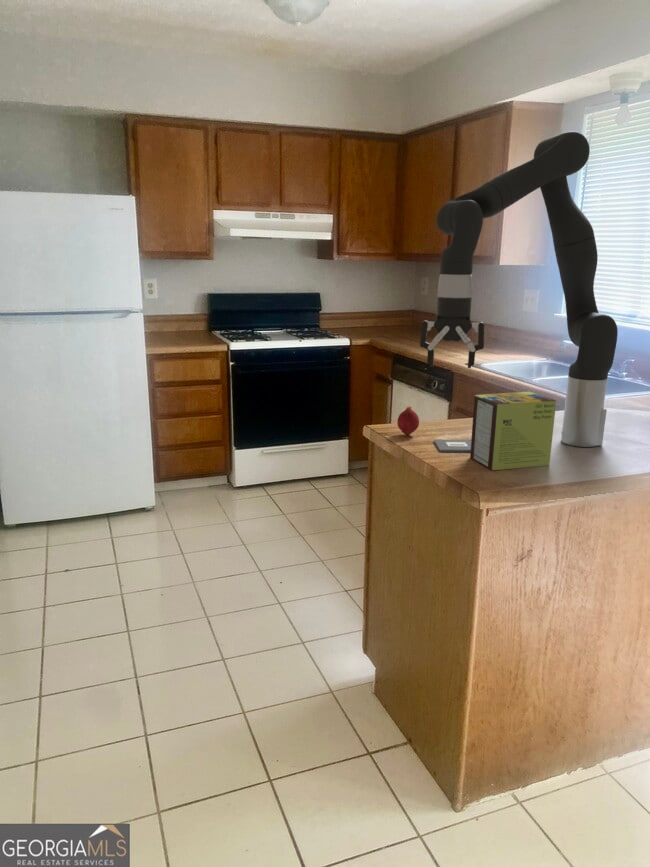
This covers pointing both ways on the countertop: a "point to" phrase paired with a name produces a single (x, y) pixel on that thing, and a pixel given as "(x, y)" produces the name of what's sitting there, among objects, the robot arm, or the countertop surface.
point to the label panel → (453, 445)
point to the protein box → (512, 430)
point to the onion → (408, 421)
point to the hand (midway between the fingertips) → (450, 366)
